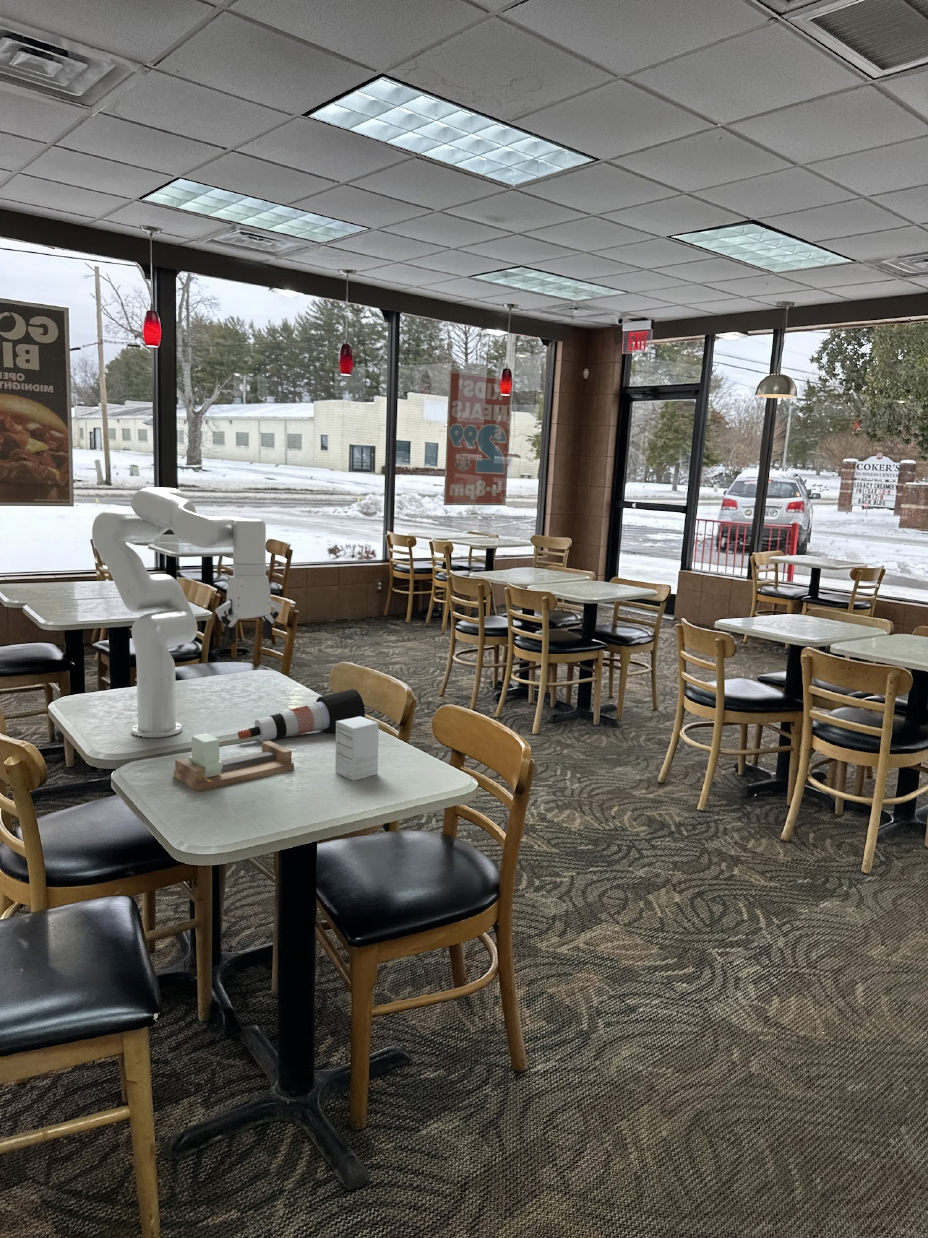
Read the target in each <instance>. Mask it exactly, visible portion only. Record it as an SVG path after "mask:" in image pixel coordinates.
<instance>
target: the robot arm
mask: <svg viewBox="0 0 928 1238" xmlns="http://www.w3.org/2000/svg"><path fill="white" fill-rule="evenodd" d="M130 506H131V508H113V509H108V510H105V511H103V512H100V513H99V514H98V515H97V516H96V517H95V518H94V521H93V523H92V528H91V535H92V541H93V545H94V547H95V550H96V551H97V553H98V554H99V557H100V558H101V560H102V561H103V562H104V564H105V566H106V567H107V569H108V572H109V573H110V575H111V579H112V580H113V582H114V585H115V587H116V589H117V591H118V593H119V595H120V598H121V600H122V602H123V604H124V605H125V607H126V609H128V610H129V611H130V612H132V613H133V612H134V613H144V612H145V613H147V612H151V613H147V614H143V615H141V616H139V617H138V618H137V619H135V621H134V622H133V624H132V626H131V637H132V642H133V643H132V644H133V647H134V653H135V660H136V662H135V663H136V664H135V665H136V693H137V694H136V695H137V696H136V698H137V700H136V701H137V702H136V703H137V706H136V707H137V714H136V716H137V724H135V725H133V726H132V727H131V733H132V735H134V736H136V735H137V736H136V737H140V736H142V737H141V738H149V739H150V738H152V739H153V738H154V739H155V738H163V737H164V738H165V737H171V736H175V735H177V734H179V733H181V732H182V730H183V725H182V724H181V723H180V722H178V721H177V717H176V716H177V714H176V713H177V705H176V703H177V701H176V699H177V697H176V696H177V695H176V694H177V692H176V691H177V690H176V687H177V686H176V685H177V684H176V663H175V660H174V658H173V656H172V654H171V653H170V651H169V648H172V647H177V646H182V645H186V644H189V643H191V642H192V641H195V638H196V637H197V635H198V623H197V618H196V617H195V615H194V611H193V609H192V608H191V605H190V603H189V601H188V598H187V597H186V595H185V592H184V590H183V588H182V586H181V584H180V583H179V582H178V580H177V579H175V577H173V576H172V575H169V574H166V573H154V574H151V573H149V572H148V571H147V568H146V567H145V565H144V562H143V560H142V558H141V557H140V555H139V554H138V553H137V552H136V551H135V550H134V549H133V548H131V546H129V545H128V544H127V542H141V541H144V542H145V541H152V540H155V539H157V538H158V537H161V536H162V535H164V533H166V532H167V531H169V530H171V531H172V532H173V534H174V535H175V537H177V539H179V540H180V541H182V542H185V543H187V544H189V545H192V546H196V547H198V548H203V549H217V548H232V551H233V553H232V554H233V555H232V558H233V559H232V561H233V563H232V564H233V565H232V567H233V568H232V569H233V571H232V572H233V573H232V574H233V575H229V579H228V583H227V588H226V599H225V600H226V601H225V602H224V603H223V604H221V605H219V606H218V607H216V608H215V613H216V615H217V617H218V620H219V621H220V622H221V623H222V624H223V626H225V639H226V642H227V643H230V644H236V642H237V628H236V626H234V625H235V624H236V623H237V622H238V621H239V620H240V619H241V620H242V619H252V618H262V620H264V621H263V622H262V626H261V627H262V628H261V629H262V635H261V636H262V638H263V639H265V640H267V641H270V640H272V636H273V624H274V623H275V620H276V619H277V618H278V616H279V615H280V611H281V610H282V607H283V605H282V604H281V603H279V602H277V601H275V600H274V599H272V597H271V595H272V594H271V586H270V580H269V577H268V575H266V574H267V571H270V568H271V567H270V565H269V564H267V563H266V557H267V556H266V552H267V550H266V549H267V548H266V545H267V541H266V539H267V538H266V537H267V535H266V533H267V531H266V530H267V528H266V523H265V521H264V520H262V519H260V518H250V517H249V518H244V517H240V516H236V515H212V516H211V515H210V516H205V515H201V514H197V509H196V506H195V505H194V503H193V502H192V501H190V500H189V499H188V498H187V496H186V495H185V494H184V493H183V492H182V491H181V490H180V489H177V488H173V487H144V488H141V489H138V490H137V491H136V492H135V493H133V495H132V497H131V501H130ZM272 607H273V608H272ZM152 611H157V612H152ZM225 613H226V615H227V616H226V615H225Z"/></svg>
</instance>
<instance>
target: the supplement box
mask: <svg viewBox="0 0 928 1238" xmlns="http://www.w3.org/2000/svg"><path fill="white" fill-rule="evenodd" d="M379 730H380V729H379V722H377V721H375V720H372V719H369V718H366V717H365V718H364V717H361V716H359V717H355V718H350V719H345V720H340V721H336V731H335V769H334V771H335V773H336V774H338V775H340V776H341V777H345V778H346V779H349V780H350V781H353V782H354V781H357V780H361V779H365V778H368V777H372V776H377V775H378V774H379V732H380V731H379Z"/></svg>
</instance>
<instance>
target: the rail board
mask: <svg viewBox="0 0 928 1238" xmlns="http://www.w3.org/2000/svg"><path fill="white" fill-rule="evenodd" d="M292 753H293V751H292V750H290V749H289V748H286V747H284V746H282V745H279V744H277V743H275V742H273V741H272V740H267V741H263V742H261V751H259V752H254V753H250V754H249V753H248V754H244V755H241V756H234V757H231V758H227V759H221V760H220V759H219V761H221V762H222V769H221V774H220V775H216V776H211V777H207V778H205V769H203V768H201V767H199V766H197V765H196V764H194V763H192V762H190V761H189V759H186V758H185V757H181V758H176V759H175V760H174V761H175V763H174V764H175V766H174V767H175V769H174V770H173V771H172V772H173V777H174V778H175V779H176V780H178V781H180V782H182V783H183V784H185V785H187V786H188V787H190V788H191V789H193V790H195V791H196V792H199V793H200V792H205V791H209V790H211V789H216V788H221V787H224V786H229V785H234V784H239V783H242V782H247V781H251V780H256V779H260V778H263V777H268V776H272V775H277V774H279V773H280V774H282V773H285V772H288V771H293V770H294V769H295V763H294V762H292V759H293V757H292V756H293V754H292Z"/></svg>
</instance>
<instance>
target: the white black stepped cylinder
mask: <svg viewBox="0 0 928 1238" xmlns="http://www.w3.org/2000/svg"><path fill="white" fill-rule="evenodd" d="M359 716H361V717H364V718H366V709H365V703H364V701H363V698H362V696H361V694H360V693H359V691H357V689H353V688H351V689H347V690H342V691H339V692H334V693H331V694H327V695H322V696H318V697H317V698H316V701H315V702H313V703H312V704H308V705H303V706H300V707H295V708H290V709H289V710H286V711H281V712H278V713H276V714H272V715H271V714H270V715H269V716H264V717H261V718H257V719H255V721H254V727H250V728H249V727H248V729H243V730H241V731H240V730H239V731H237V737H238V738H239V740H244V739H248V738H253V737H256V738H257V740H258V742H261V743H262V742H265V741H272V740H276V739H280V738H287V737H291V736H299V735H302V734H306V733H311V732H314V731H321V730H322V731H323V732H325V733H327V734H328V733H332V732H336V721H340V720H345V719H350V718H355V717H359Z"/></svg>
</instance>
